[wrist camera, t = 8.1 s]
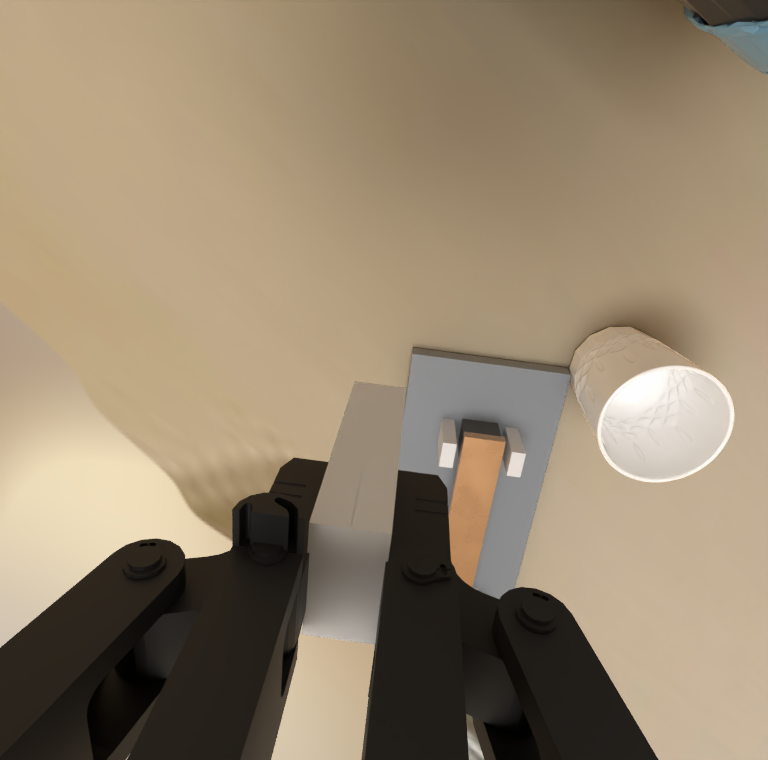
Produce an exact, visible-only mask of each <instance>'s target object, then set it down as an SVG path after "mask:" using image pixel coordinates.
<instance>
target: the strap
mask: <svg viewBox="0 0 768 760" xmlns="http://www.w3.org/2000/svg"><path fill="white" fill-rule="evenodd" d="M505 444H506V441H505V437H501V436H493V435H486V434H479V433H471V432H464V434H463V439H462V444H461V449H460V454H459V460H458V465H457V470H456V475H455V480H454V485H453V491H452V496H451V501H450V506H449V511H448V512H449V514H448V517H449V532H450V551H451V562H452V564H453V566H454V567H455V570H456V573H457V575H458V576H459V577H460V578H461V579H462V580H463V581H464V582H465V583H467V584H468V585H469V586H471V587H473V583H474V578H475V574H476V570H477V565H478V561H479V557H480V552H481V548H482V544H483V539H484V535H485V531H486V526H487V522H488V518H489V513H490V509H491V505H492V500H493V496H494V492H495V487H496V483H497V479H498V474H499V470H500V466H501V461H502V457H503V453H504V448H505Z"/></svg>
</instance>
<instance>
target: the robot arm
mask: <svg viewBox="0 0 768 760" xmlns="http://www.w3.org/2000/svg"><path fill="white" fill-rule="evenodd" d="M679 1H680V2H681V3H682V4H683V5H684V14H685V16H686V17H687V18H688V20H689V21H690V22H691V23H692V24H693V25H694V26H695V27H696V28H698V29H700V30H702V31H705V32H708V33H710V34H713V35H715V36H716V37H718V38H719V39H720V40H721V41H722V42H723V43H724V44H726V45H727V46H728V47H729V48H730V49H731V50H732V51H734V52H735V53H736V54H737V55H738V56H739V57H740V58H742V59H743V60H744V61H745V62H746V63H747V64H749V65H750V66H751V67H753V68H754V69H756V70H758V71H760V72H762V73H765V74H768V0H679ZM405 395H406V388H403V387H395V386H387V385H379V384H371V383H363V382H356V381H355V382H354V385H353V389H352V392H351V395H350V398H349V401H348V404H347V407H346V410H345V413H344V416H343V419H342V423H341V426H340V429H339V432H338V435H337V438H336V441H335V444H334V447H333V450H332V453H331V457H330V460H329V462H323V461H315V460H308V459H300V458H293V459H292V460H290V461H289V462H288V463H286V464H285V465H284V466H282V467H281V468H280V470H279V472H278V474H277V477H276V479H275V481H274V483H273V485H272V487H271V489H270V491H269V493H261V494H256V495H251V496H249V497H247V498H245V499H243V500H241V501H240V502H239V503H238V504H237V505H236V506H235V507H234V508H233V509H232V516H233V546H232V548H231V550H230V551H228V552H225V553H222V554H219V555H214V556H209V557H199V558H189V559H185V554H184V553H183V551H182V549H181V548H180V546H178V545H176V544H174V543H173V542H171V541H167V540H161V539H148V540H140V541H137V542H134V543H131V544H128V545H125V546H124V547H122V548H121V549H119V550H117V551H116V552H114V553H113V554H112V555H110V556H109V557H108V558H107V559H106V560H104V561H103V562H102V563H101V564H100V565H99V566H97V567H96V568H95V569H94V570H93V571H91V572H90V573H89V574H88V575H87V576H85V577H84V578H83V579H82V580H81V581H79V582H78V583H77V584H76V585H75V586H73V587H72V588H71V589H70V590H69V591H67V592H66V593H65V594H64V595H63V596H62V597H60V598H59V599H58V600H57V601H56V602H54V603H53V604H52V605H51V606H50V607H48V608H47V609H46V610H45V611H44V612H42V613H41V614H40V615H39V616H38V617H36V618H35V619H34V620H33V621H32V622H30V623H29V624H28V625H27V626H26V627H25V628H23V629H22V630H21V631H20V632H19V633H17V634H16V635H15V636H14V637H13V638H11V639H10V640H9V641H8V642H7V643H6V644H4V645H3V646H2V647H1V648H0V760H126V758H127V757H128V756H129V757H128V759H127V760H271V757H272V753H273V749H274V746H275V742H276V738H277V734H278V730H279V726H280V722H281V718H282V714H283V711H284V707H285V703H286V699H287V695H288V691H289V687H290V683H291V679H292V676H293V672H294V668H295V664H296V660H297V649H298V648H297V647H298V637H299V634H300V630H301V626H302V623H303V628H302V634H304V635H311V636H318V637H326V638H333V639H339V640H347V641H353V642H360V643H368V644H375V650H374V657H373V658H374V659H373V665H372V672H371V680H370V687H369V695H368V697H369V699H368V708H367V718H366V725H365V735H364V743H363V752H362V760H469V756H468V740H467V724H466V713H467V714H469V715H471V716H472V717H473V724H474V728H475V731H476V734H477V737H478V740H479V743H480V747H481V750H482V753H483V756H484V759H485V760H658V758H657V757H656V755H655V753H654V752H653V750H652V748H651V747H650V745H649V743H648V742H647V740H646V738H645V736H644V735H643V733H642V731H641V730H640V728H639V726H638V725H637V723H636V721H635V720H634V718H633V716H632V715H631V713H630V711H629V709H628V708H627V706H626V704H625V703H624V701H623V699H622V698H621V696H620V694H619V693H618V691H617V689H616V688H615V686H614V684H613V683H612V681H611V679H610V677H609V676H608V674H607V672H606V671H605V669H604V667H603V666H602V664H601V662H600V661H599V659H598V657H597V656H596V654H595V652H594V651H593V649H592V647H591V645H590V644H589V642H588V640H587V639H586V637H585V635H584V634H583V632H582V630H581V629H580V627H579V625H578V624H577V622H576V620H575V618H574V617H573V615H572V614H571V612H570V611H569V610H568V609H567V608H566V606H565V605H564V604H563V603H562V602H560V601H559V600H558V599H556V598H555V597H553V596H552V595H550V594H548V593H545V592H543V591H540V590H538V589H533V588H524V587H520V588H515V589H511V590H508V591H507V592H506V593H504V594H503V595H502V596H501V597H500V599H497V598H495V597H492V596H490V595H487V594H485V593H482V592H480V591H478V590H476V589H474V588H472V587H471V586H469V585H468V584H467V583H465V582H464V581H463V580H462V579H461V578H460V577H459V576H458V575H457V573H456V570H455V567H454V566H453V564H452V562H451V551H450V532H449V517H448V514H449V512H448V493H447V487H446V486H445V484H444V483H443V482H442V480H441V479H440V477H439V476H438V475H433V474H425V473H418V472H410V471H403V470H398V466H399V456H400V446H401V436H402V426H403V416H404V406H405ZM129 754H130V755H129Z"/></svg>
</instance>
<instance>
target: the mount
mask: <svg viewBox="0 0 768 760" xmlns="http://www.w3.org/2000/svg"><path fill="white" fill-rule="evenodd" d="M570 378H571V374H570V372H569V370H568V369H567V368H566V367H558V366H550V365H543V364H535V363H528V362H520V361H512V360H505V359H497V358H490V357H482V356H475V355H467V354H459V353H452V352H444V351H437V350H429V349H422V348H414V347H413V351H412V358H411V365H410V372H409V379H408V386H407V393H406V400H405V407H404V416H403V426H402V436H401V446H400V456H399V466H398V470H403V471H410V472H418V473H425V474H433V475H438V476H439V477H440V479H441V480H442V482H443V483H444V484H445V486H446V487H447V493H448V511H449V506H450V501H451V496H452V491H453V485H454V480H455V475H456V470H457V465H458V460H459V454H460V449H461V444H462V439H463V434H464V432H471V433H479V434H486V435H493V436H501V437H505V441H506V444H505V448H504V453H503V457H502V461H501V466H500V470H499V474H498V479H497V483H496V487H495V492H494V496H493V500H492V505H491V509H490V513H489V518H488V522H487V526H486V531H485V535H484V539H483V544H482V548H481V552H480V557H479V561H478V565H477V570H476V574H475V578H474V583H473V587H472V588H474V589H476V590H478V591H480V592H482V593H485V594H487V595H490V596H492V597H495V598H497V599H500V597H501V596H502V595H503V594H504V593H506V592H507V591H508V590H511V589H515V585H516V581H517V577H518V574H519V570H520V566H521V562H522V559H523V555H524V551H525V547H526V544H527V540H528V536H529V532H530V529H531V525H532V521H533V517H534V514H535V510H536V506H537V502H538V498H539V495H540V491H541V487H542V483H543V480H544V476H545V472H546V468H547V465H548V461H549V457H550V453H551V450H552V446H553V442H554V438H555V435H556V431H557V427H558V423H559V419H560V416H561V412H562V408H563V404H564V401H565V397H566V393H567V389H568V386H569V382H570Z"/></svg>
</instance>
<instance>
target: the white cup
mask: <svg viewBox="0 0 768 760" xmlns="http://www.w3.org/2000/svg"><path fill="white" fill-rule="evenodd" d="M569 371H570V374H571V384H572V388H573V390H574V392H575V394H576V396H577V400H578V402H579V405H580V407H581V409H582V412H583V414H584V417H585V419H586V421H587V423H588V425H589V427H590V429H591V431H592V433H593V435H594V437H595V439H596V441H597V444H598V446H599V448H600V450H601V452H602V454H603V456H604V457H605V459H606V460H607V462H608V463H609V464H610V465H611V466H612V467H613V468H614V469H616V470H617V471H618V472H620V473H622V474H623V475H625V476H627V477H630V478H632V479H636V480H639V481H645V482H667V481H673V480H677V479H680V478H683V477H686V476H689V475H691V474H693V473H695V472H697V471H699V470H700V469H702V468H703V467H705V466H706V465H707V464H709V463H710V462H711V461H712V460H713V459H714V458H715V457H716V456H717V455H718V454H719V453H720V452H721V451H722V449H723V448H724V446H725V445H726V443H727V441H728V439H729V437H730V435H731V432H732V429H733V425H734V406H733V402H732V399H731V397H730V394H729V393H728V391H727V389H726V388H725V387H724V385H723V384H722V383H721V382H720V381H719V380H718V379H716V378H715V377H714V376H712V375H711V374H709V373H708V372H706V371H705V370H703V369H702V368H700V367H699V366H697V365H696V364H694V363H693V362H691V361H690V360H688V359H687V358H685V357H684V356H683V355H681V354H680V353H678V352H676V351H674V350H673V349H671V348H670V347H668V346H666V345H665V344H663V343H662V342H660V341H658V340H656V339H654V338H652V337H650V336H649V335H647V334H645V333H643V332H641V331H638V330H636V329H634V328H632V327H608V328H606V329H604V330H601V331H599V332H597V333H594V334H592V335H590V336H589V337H588V338H587V339H586V340H585V341H584V342H583V343H582V344H581V345H580V346H579V347H578V348H577V349H576V350H575V353H574V356H573V359H572V362H571V365H570V367H569Z"/></svg>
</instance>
